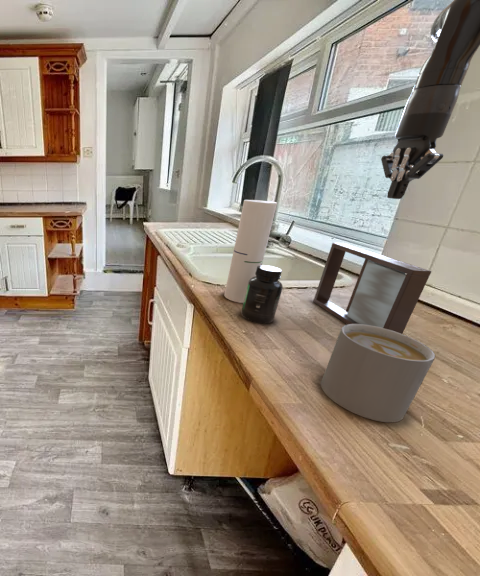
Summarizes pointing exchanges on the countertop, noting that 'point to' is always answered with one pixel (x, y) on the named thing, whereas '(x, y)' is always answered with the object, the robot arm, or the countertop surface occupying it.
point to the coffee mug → (375, 371)
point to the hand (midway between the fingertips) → (393, 198)
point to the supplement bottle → (262, 295)
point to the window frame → (374, 289)
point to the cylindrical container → (249, 246)
